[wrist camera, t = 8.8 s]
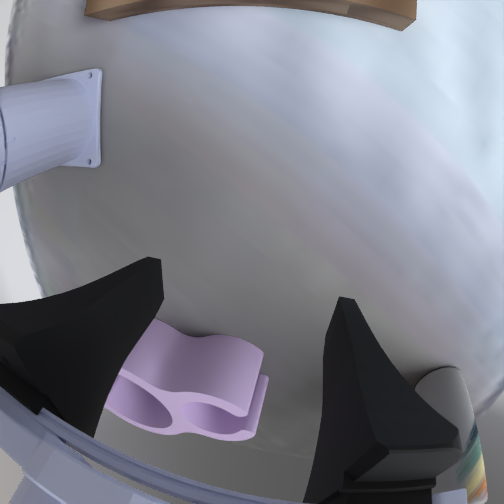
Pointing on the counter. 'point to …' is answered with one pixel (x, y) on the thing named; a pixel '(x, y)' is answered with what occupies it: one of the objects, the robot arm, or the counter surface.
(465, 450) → the lotion bottle
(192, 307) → the counter surface
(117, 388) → the clip
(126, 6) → the board
